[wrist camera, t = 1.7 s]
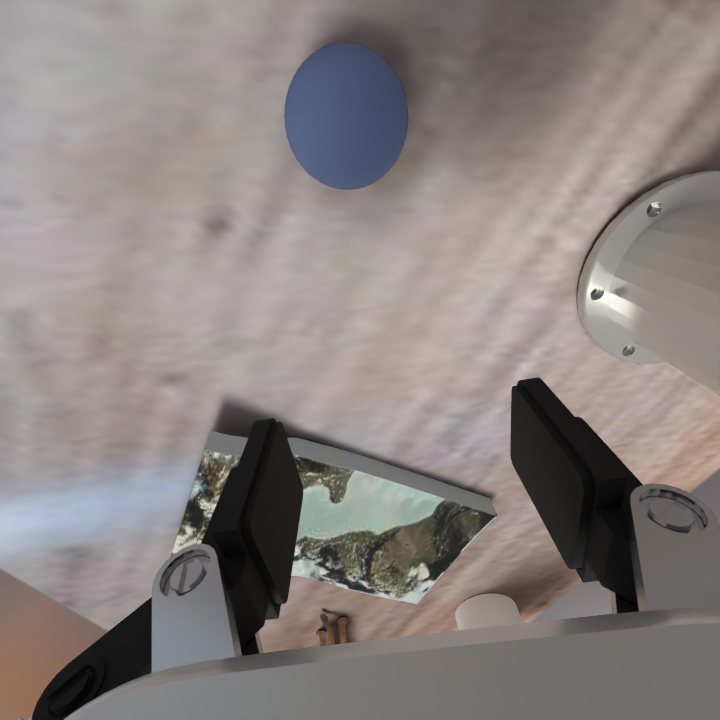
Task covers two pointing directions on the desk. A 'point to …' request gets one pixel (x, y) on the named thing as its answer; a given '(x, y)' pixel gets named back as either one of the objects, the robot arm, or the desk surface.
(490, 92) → the desk surface
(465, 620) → the cylindrical container
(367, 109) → the ball
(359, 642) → the robot arm
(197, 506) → the topographical model
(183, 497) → the desk surface
